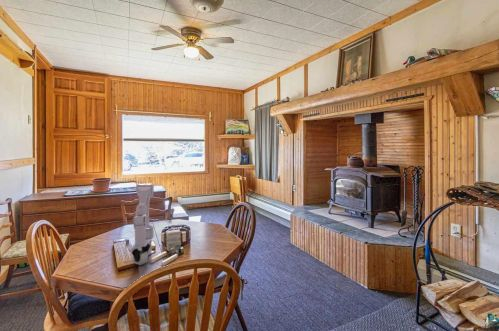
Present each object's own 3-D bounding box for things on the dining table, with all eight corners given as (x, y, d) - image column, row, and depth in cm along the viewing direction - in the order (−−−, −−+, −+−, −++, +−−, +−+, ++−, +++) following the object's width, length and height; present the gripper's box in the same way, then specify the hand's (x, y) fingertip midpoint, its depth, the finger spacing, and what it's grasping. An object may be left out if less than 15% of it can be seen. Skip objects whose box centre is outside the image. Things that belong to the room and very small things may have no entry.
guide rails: (150, 262, 152) (150, 259, 152) (164, 254, 163) (164, 251, 163) (163, 265, 148) (163, 262, 148) (177, 257, 159) (177, 254, 159)
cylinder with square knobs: (167, 255, 162) (167, 248, 162) (176, 250, 169) (176, 243, 169) (175, 256, 160) (174, 249, 159) (183, 251, 167) (183, 245, 167)
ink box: (179, 245, 177) (179, 228, 176) (181, 248, 172) (180, 231, 171) (166, 248, 173) (166, 230, 172) (167, 250, 168) (167, 233, 167)
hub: (134, 263, 147) (133, 252, 146) (141, 259, 151) (140, 249, 151) (140, 265, 145) (140, 254, 144) (147, 261, 149) (147, 250, 149)
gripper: (135, 241, 138) (135, 266, 140) (155, 233, 152) (155, 255, 153) (125, 239, 141) (126, 263, 143) (146, 231, 155) (146, 253, 156)
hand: (140, 259), depth 148 cm, fingers closed on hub, 5 cm apart
